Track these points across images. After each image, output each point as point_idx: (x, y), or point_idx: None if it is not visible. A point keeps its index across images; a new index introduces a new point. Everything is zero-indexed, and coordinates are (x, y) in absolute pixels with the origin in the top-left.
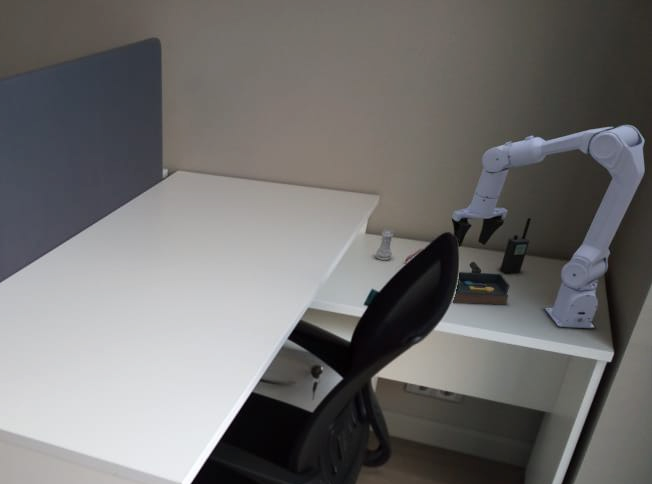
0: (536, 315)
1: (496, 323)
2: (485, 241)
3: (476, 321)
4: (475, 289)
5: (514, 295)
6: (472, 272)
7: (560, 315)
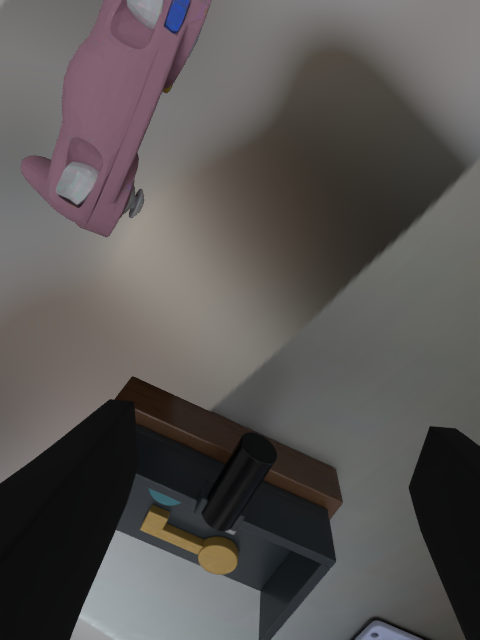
0: (312, 625)
1: (147, 611)
2: (423, 535)
3: (95, 584)
4: (160, 535)
5: (378, 512)
6: (199, 495)
7: None
